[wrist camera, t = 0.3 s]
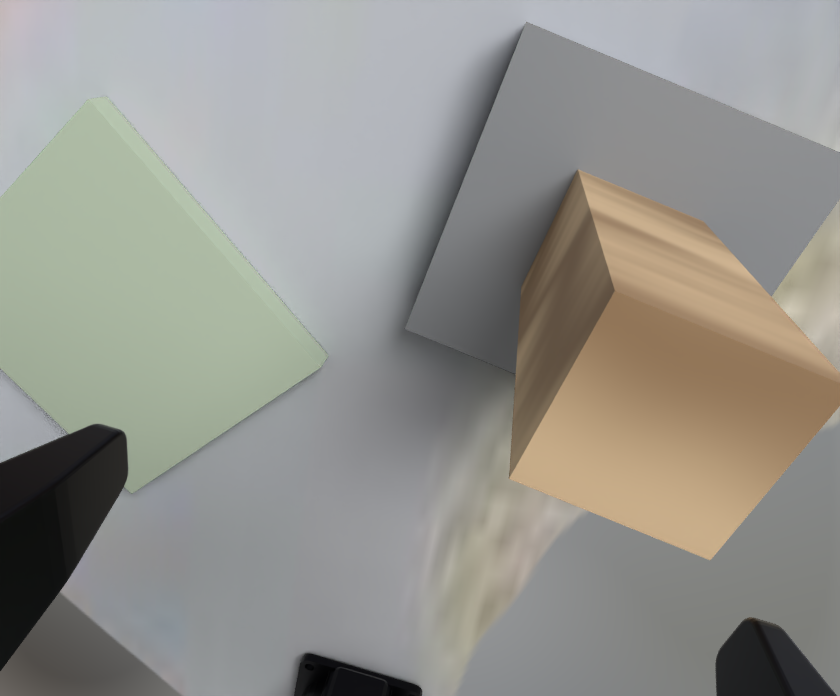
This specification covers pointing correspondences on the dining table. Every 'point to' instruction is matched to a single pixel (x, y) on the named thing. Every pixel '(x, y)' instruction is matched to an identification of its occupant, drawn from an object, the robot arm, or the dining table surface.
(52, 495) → the robot arm
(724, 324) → the oak block
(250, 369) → the sage mat
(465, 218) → the grey block
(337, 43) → the dining table surface
